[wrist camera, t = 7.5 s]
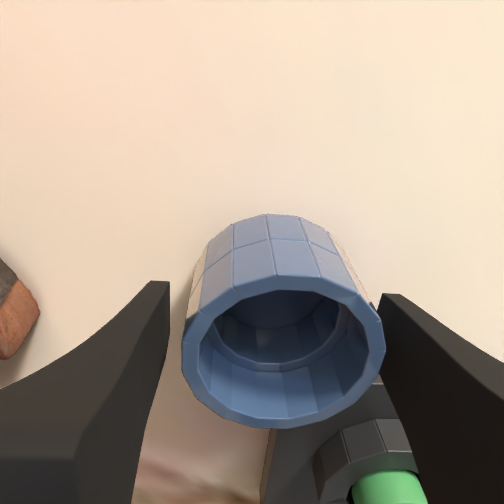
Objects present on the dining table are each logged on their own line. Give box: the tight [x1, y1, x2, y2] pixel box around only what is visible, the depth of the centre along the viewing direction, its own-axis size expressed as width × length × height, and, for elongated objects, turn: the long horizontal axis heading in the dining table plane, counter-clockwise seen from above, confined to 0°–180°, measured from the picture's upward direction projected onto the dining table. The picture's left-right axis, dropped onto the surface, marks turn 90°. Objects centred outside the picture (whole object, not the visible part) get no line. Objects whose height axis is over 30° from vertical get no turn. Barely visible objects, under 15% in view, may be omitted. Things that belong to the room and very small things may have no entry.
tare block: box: [260, 374, 426, 504], centre depth 18 cm, size 10×10×3 cm
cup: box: [181, 214, 386, 429], centre depth 13 cm, size 6×6×4 cm
